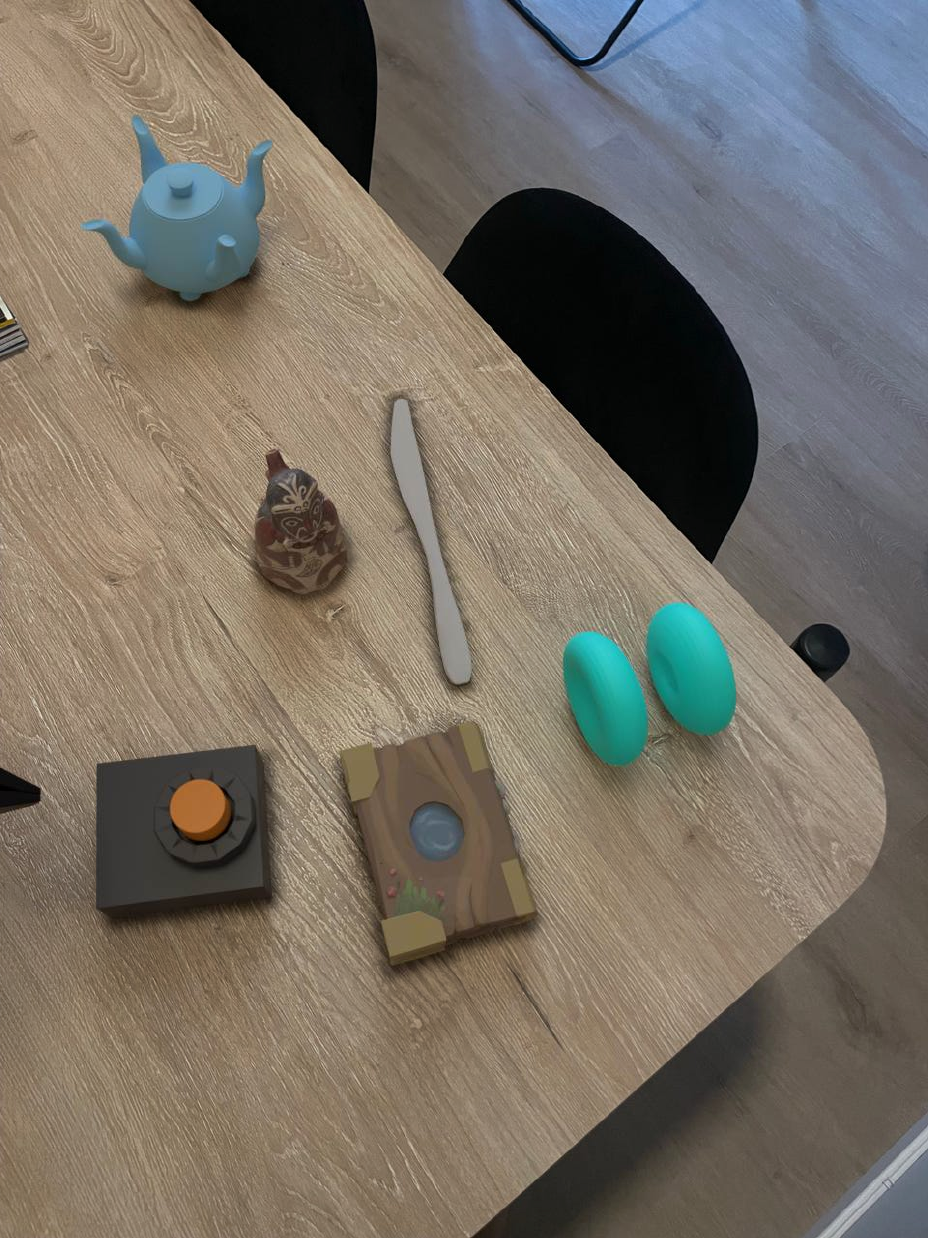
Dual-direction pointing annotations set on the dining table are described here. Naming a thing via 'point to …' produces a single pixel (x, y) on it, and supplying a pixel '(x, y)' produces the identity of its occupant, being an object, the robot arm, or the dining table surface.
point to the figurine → (297, 530)
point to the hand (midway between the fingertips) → (37, 797)
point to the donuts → (681, 672)
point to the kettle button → (200, 810)
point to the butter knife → (429, 544)
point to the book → (437, 840)
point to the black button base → (179, 835)
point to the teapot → (189, 222)
